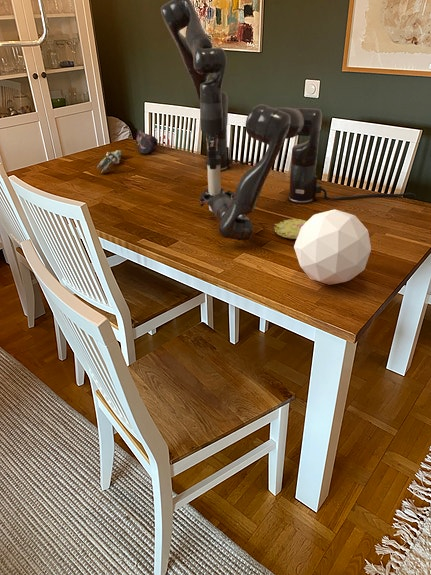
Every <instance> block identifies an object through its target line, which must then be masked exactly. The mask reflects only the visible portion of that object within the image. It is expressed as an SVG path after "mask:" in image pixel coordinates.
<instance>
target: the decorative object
mask: <svg viewBox="0 0 431 575" xmlns="http://www.w3.org/2000/svg"><path fill="white" fill-rule="evenodd" d="M307 221H308V220H304V219H303V218H292V219H283V221H279V223H274V227H273V229H274V233H276V234H277V236H279V237H282V238H284V239H285V238H286V239H290V240H297V237H298V234H299V232H300V229H301V227H302V226H303V225H304V224H305V223H306V222H307Z"/></svg>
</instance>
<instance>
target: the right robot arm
mask: <svg viewBox="0 0 431 575" xmlns="http://www.w3.org/2000/svg"><path fill="white" fill-rule="evenodd" d="M322 123H323V114H322V110H321V109H319V108H311V107H297V108H295V107H291V106H284V107H281V106H279V107H273V106H269V105H268V104H263V103H261V104H257V105H255V106H254V107H253V108H252V109H251V110H250V111H249V113H248V114H247V117H246V120H245V132H246V134H247V135H248V136H249V137H250V138H251V139H253V140H255V141H258V142H260V143H263V144H266V145H268V147H267V148H266V151H265V153H264V154H263V156H262V158H261V159H260V160H259V161H258V162H257V163H255V165H253V166H252V167H251V168H250V169H248V170H247V171H246V172H245V173H244V174H243V175H242V176H241V178H240V179H239V180H238V184H237V185H236V188H235V192H233V191H231V190H227V191H226V190H225V189H224V188H222V187H221V193H220V194H217V195H214V194H212V193H209V192H208V188H205V189H204V190H203V193H200V196H199V206H200V207H204V205H207V206H208V207H209V206H210V207H211V209H212V211H213V212H212V211H211V212H212V213H213V215H214V217H215V218H216V219H217V220H218V222H219V223H218V234H219V235H220V237H221V238H224V239H229V240H235V241H244V242H245V241H247V240H249V239H250V238H252V236H253V234H254V224H253V222H252V220H251V219H250V218H249V217H248V216H247V215H248V214H252V213H254V211H255V209H256V206H257V203H258V200H259V198H260V195H261V193H262V192H261V191H262V190H263V186H264V184H265V182H266V180H267V178H268V175H269V173H270V172H271V170H272V168H273V166H274V164H275V162H276V160H277V159H278V156H279V153H280V151H281V150H282V147H283V145H284V144H285V141H286V140H288V139H293V138H295V137H297V136H299V137H300V136H301V137H308V140H306V141H305V142H300V143H297V144H295V145H293V146H292V148H291V161H290V175H289V190H288V201H290V202H291V203H294V204H299V205H300V204H304V205H305V204H309V203H312V202H315V201H316V196H317V195H318V194H322V192H323V197H324V199H325V200H329V201H341V200H353V199H363V198H372V197H406V196H410V197H412V198H417V195H415V194H414V193H412V192H404V193H371V194H360V195H352V196H351V195H349V196H340V197H333V198H331V197H329V196H328V191H327V190H326V189H325V188H323V186H322V185H321V184H319V182H318V176H317V175H316V173H317V160H318V152H319V144H320V135H321V129H322Z"/></svg>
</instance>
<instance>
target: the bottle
mask: <svg viewBox="0 0 431 575" xmlns="http://www.w3.org/2000/svg"><path fill="white" fill-rule="evenodd" d="M206 168H207V190H208V192H209V193H212V194H214V195H217V194H220V193H221V188H222V178H221V175H222V173H221V172H222V171H220V165H216V169H210V165H207V164H206ZM208 211H210V212H212V213H213V211H212V209H211V207H210V206H209V205H208Z"/></svg>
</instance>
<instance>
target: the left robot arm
mask: <svg viewBox="0 0 431 575" xmlns="http://www.w3.org/2000/svg"><path fill="white" fill-rule="evenodd" d="M160 13H161V17H162V19H163V20H162V21H163V22H164V24H165V26H166V28H167V30H168V32H169V34H170V36H171V38H172V40H173V42H174V43H175V46H176V47H177V50H178V52H179V54H180V57H181V59H182V61H183V65H184V67H185V69H186V71H187V73H188V75H189V77H190V80H191V82H192V84H193V87H194V89H195V91H196V95H197V98H198V101H199V114H200V116H199V118H200V132H202V133H205V134H206V138H205V139H206V157H207V156H209V159H210V169H216V157H217V155H218V156H221V164H220V172H223V171H226V170H227V169H229V168H230V165H233V162H234V163H238V164H241V165H248V164H251V163H252V160H250V161H249V160H248V161H245V162H243V161H241V160H237V159H233V158H231V157H230V148H229V146H228V121H229V120H228V119H229V118H228V117H229V97H228V94H227V93H226V92H225V91H223V90H222V89H223V82H224V77H225V72H226V69H227V63H228V58H227V54H226V52H225V50H224V49H223V48H222V47H213V43H212V41H211V39H210V37H209V36H208V35H207V33H206V31H205V30H204V28H203V25H202V23H201V20H200V17H199V15H198V13H197V11H196V9H195V7H194V4H193V3H192V1H191V0H169V1H168V2H166V3H164V4H163V5H162V6H161V7H160ZM185 28H186V30H185V36H184V34H183V33H182V32H180V31H182V30H183V29H185ZM211 74H212V76H211V78H210V75H211Z"/></svg>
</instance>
